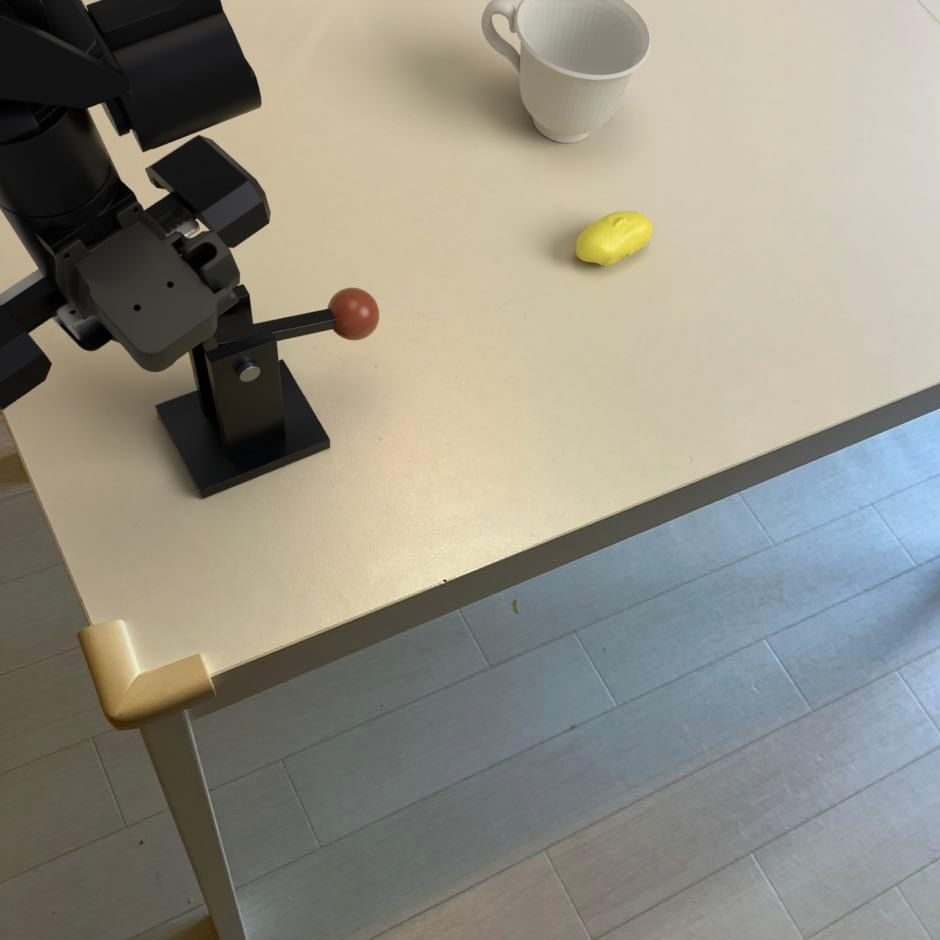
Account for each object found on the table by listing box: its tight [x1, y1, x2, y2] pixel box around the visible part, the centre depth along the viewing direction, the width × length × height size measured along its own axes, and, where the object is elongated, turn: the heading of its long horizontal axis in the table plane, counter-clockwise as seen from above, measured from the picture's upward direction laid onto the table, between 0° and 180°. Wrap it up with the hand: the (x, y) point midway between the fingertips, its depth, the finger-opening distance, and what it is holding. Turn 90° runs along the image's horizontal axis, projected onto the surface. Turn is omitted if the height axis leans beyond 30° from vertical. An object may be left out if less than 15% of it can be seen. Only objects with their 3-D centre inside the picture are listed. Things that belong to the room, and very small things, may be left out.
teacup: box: [480, 0, 652, 144], centre depth 92 cm, size 12×15×10 cm
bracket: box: [154, 283, 331, 500], centre depth 70 cm, size 10×8×13 cm
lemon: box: [575, 210, 654, 267], centre depth 88 cm, size 4×8×4 cm, turn 120°
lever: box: [202, 287, 380, 351], centre depth 69 cm, size 12×4×4 cm, turn 121°
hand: (149, 351), depth 63 cm, fingers closed
